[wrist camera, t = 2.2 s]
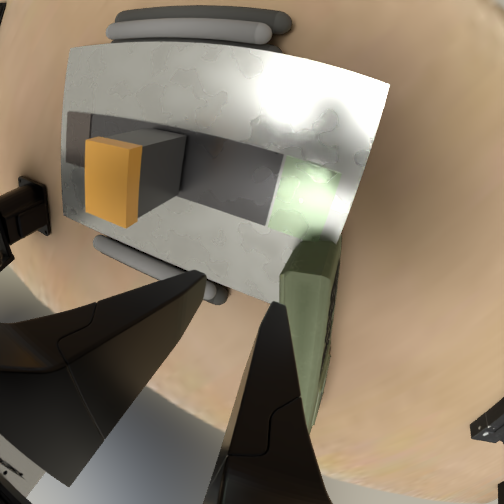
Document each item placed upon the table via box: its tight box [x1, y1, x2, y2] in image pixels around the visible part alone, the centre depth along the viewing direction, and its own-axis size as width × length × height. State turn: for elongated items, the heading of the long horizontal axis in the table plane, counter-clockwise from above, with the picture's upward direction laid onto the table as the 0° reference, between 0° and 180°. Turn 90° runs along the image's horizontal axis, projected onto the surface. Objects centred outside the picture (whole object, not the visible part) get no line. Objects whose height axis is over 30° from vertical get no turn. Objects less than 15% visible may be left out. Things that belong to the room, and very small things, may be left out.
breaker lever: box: [85, 128, 187, 229], centre depth 16 cm, size 3×4×6 cm
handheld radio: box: [279, 234, 342, 435], centre depth 23 cm, size 7×3×25 cm
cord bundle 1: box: [106, 5, 292, 54], centre depth 15 cm, size 14×4×3 cm, turn 77°
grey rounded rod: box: [93, 235, 228, 305], centre depth 24 cm, size 14×4×3 cm, turn 77°
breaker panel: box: [61, 42, 390, 304], centre depth 19 cm, size 24×16×2 cm, turn 77°
